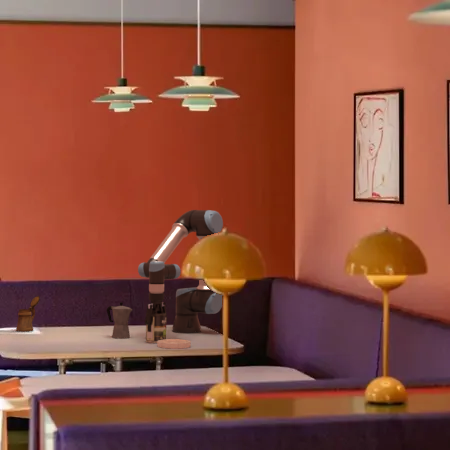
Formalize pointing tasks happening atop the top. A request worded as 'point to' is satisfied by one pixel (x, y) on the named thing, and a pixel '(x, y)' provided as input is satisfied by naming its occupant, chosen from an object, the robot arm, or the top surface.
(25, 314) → the brown tapered pot
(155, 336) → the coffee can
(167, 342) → the round dish
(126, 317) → the coffeepot
